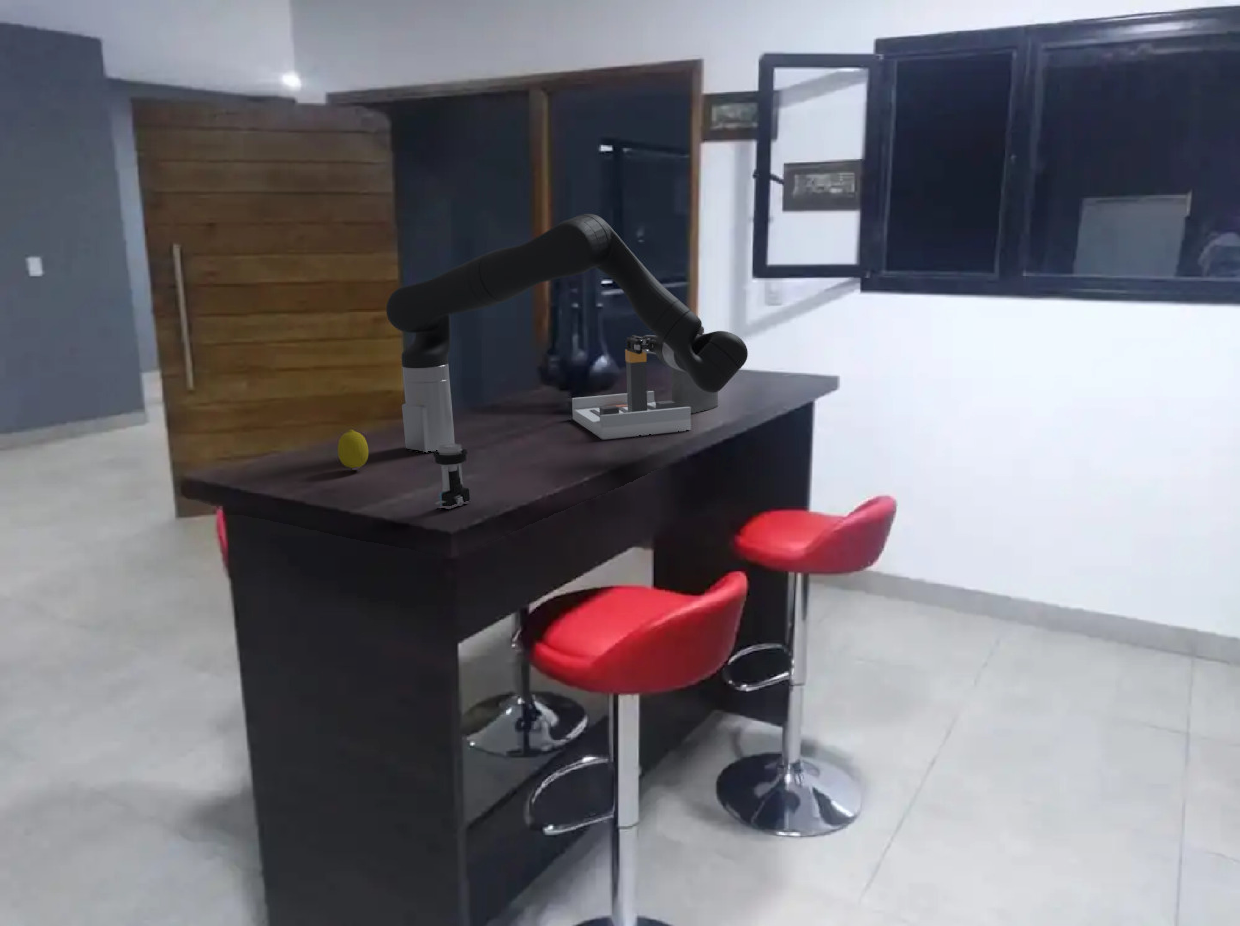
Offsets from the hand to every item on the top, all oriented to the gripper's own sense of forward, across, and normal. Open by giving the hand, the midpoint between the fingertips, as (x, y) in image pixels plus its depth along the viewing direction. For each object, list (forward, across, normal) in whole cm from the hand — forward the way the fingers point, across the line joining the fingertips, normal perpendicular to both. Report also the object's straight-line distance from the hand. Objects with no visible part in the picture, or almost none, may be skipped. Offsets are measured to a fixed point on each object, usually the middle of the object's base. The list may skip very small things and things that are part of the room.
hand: (652, 339), depth 184 cm
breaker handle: (+10, 0, +18) cm, 21 cm away
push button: (-32, +46, +21) cm, 60 cm away
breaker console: (+16, 0, +21) cm, 27 cm away
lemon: (0, +60, +22) cm, 64 cm away
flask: (+26, -21, +21) cm, 39 cm away
